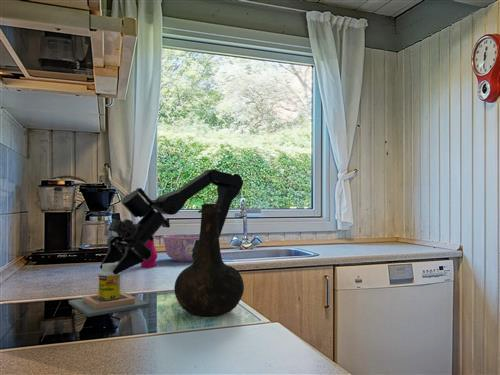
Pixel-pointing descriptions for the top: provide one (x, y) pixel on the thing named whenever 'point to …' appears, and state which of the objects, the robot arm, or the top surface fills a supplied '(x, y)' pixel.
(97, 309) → the dock
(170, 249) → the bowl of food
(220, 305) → the dark brown vase
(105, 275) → the supplement bottle
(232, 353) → the top surface
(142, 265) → the pepper mill
